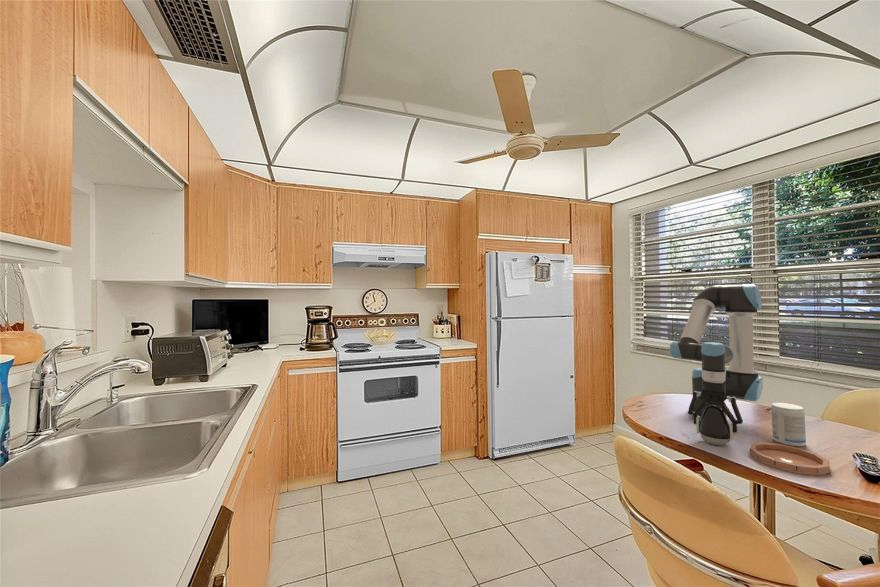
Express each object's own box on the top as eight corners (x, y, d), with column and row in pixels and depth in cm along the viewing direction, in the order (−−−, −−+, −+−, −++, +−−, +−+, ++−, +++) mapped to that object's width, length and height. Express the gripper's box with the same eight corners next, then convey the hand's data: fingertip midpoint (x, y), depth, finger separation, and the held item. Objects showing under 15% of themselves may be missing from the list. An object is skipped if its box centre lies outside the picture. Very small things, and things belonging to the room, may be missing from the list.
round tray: (754, 444, 140) (754, 438, 140) (829, 461, 125) (829, 454, 125) (746, 460, 126) (746, 453, 126) (829, 481, 112) (829, 473, 112)
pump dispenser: (738, 449, 136) (737, 410, 136) (707, 447, 138) (706, 408, 138) (722, 439, 146) (721, 402, 146) (694, 437, 148) (693, 401, 148)
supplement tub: (810, 444, 139) (809, 407, 140) (799, 449, 135) (798, 410, 136) (779, 436, 148) (778, 401, 148) (767, 440, 144) (766, 404, 144)
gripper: (678, 377, 148) (679, 430, 148) (749, 387, 131) (750, 447, 131) (682, 375, 153) (684, 426, 153) (752, 384, 136) (753, 441, 136)
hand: (714, 436), depth 142 cm, fingers closed on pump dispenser, 10 cm apart
